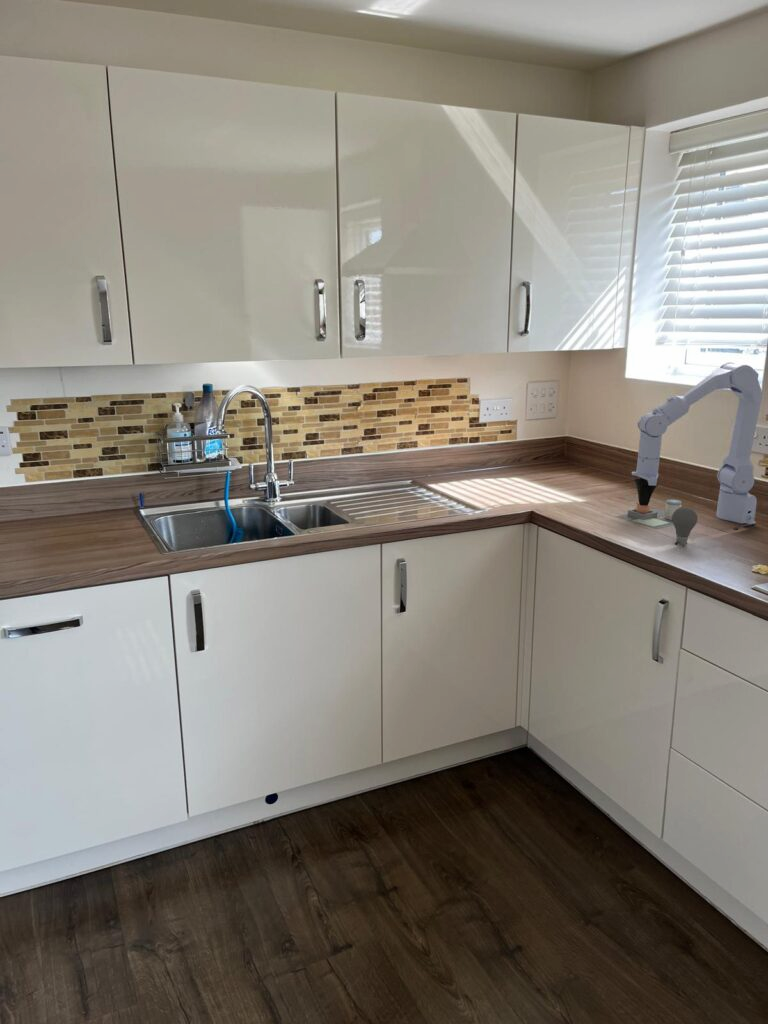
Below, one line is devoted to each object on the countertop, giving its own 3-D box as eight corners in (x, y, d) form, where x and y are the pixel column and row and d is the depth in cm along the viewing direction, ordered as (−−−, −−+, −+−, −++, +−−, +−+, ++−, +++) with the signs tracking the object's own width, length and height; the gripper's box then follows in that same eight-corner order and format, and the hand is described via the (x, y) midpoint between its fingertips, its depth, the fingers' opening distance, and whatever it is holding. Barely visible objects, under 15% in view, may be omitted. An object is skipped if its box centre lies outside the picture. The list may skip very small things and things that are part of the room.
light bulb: (688, 541, 196) (692, 503, 194) (698, 548, 190) (703, 510, 188) (665, 541, 196) (669, 503, 193) (674, 548, 190) (679, 510, 188)
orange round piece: (651, 515, 213) (653, 505, 213) (643, 517, 212) (644, 507, 211) (641, 512, 216) (642, 502, 216) (633, 514, 214) (634, 504, 214)
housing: (696, 524, 212) (697, 514, 211) (656, 533, 203) (657, 523, 202) (654, 512, 223) (655, 503, 222) (614, 520, 214) (615, 511, 213)
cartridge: (682, 522, 213) (684, 502, 212) (673, 524, 211) (675, 503, 210) (670, 519, 216) (672, 498, 215) (661, 521, 214) (663, 500, 213)
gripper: (628, 451, 217) (623, 497, 220) (639, 462, 203) (634, 511, 207) (653, 452, 216) (648, 498, 220) (667, 462, 202) (661, 512, 206)
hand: (643, 504), depth 213 cm, fingers closed, pressing on orange round piece
